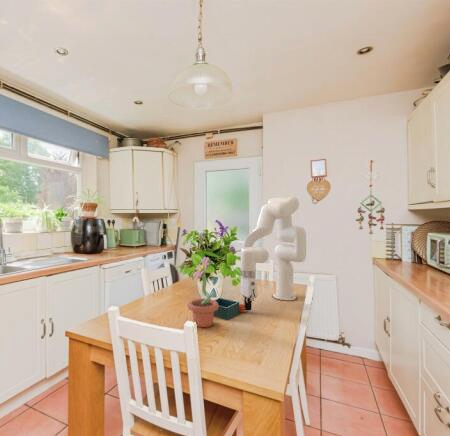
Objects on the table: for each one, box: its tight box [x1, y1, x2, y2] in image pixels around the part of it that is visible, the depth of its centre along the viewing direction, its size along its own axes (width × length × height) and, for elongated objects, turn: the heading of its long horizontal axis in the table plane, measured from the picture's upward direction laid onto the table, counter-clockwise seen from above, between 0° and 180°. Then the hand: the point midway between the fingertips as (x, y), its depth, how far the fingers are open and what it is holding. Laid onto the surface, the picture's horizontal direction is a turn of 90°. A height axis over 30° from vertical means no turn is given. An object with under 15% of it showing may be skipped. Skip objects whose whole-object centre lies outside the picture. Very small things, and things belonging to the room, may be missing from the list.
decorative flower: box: [187, 256, 219, 328], centre depth 123 cm, size 15×14×30 cm
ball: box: [239, 303, 246, 313], centre depth 138 cm, size 4×4×4 cm
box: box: [213, 297, 240, 321], centre depth 136 cm, size 12×12×6 cm
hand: (247, 309), depth 139 cm, fingers closed
